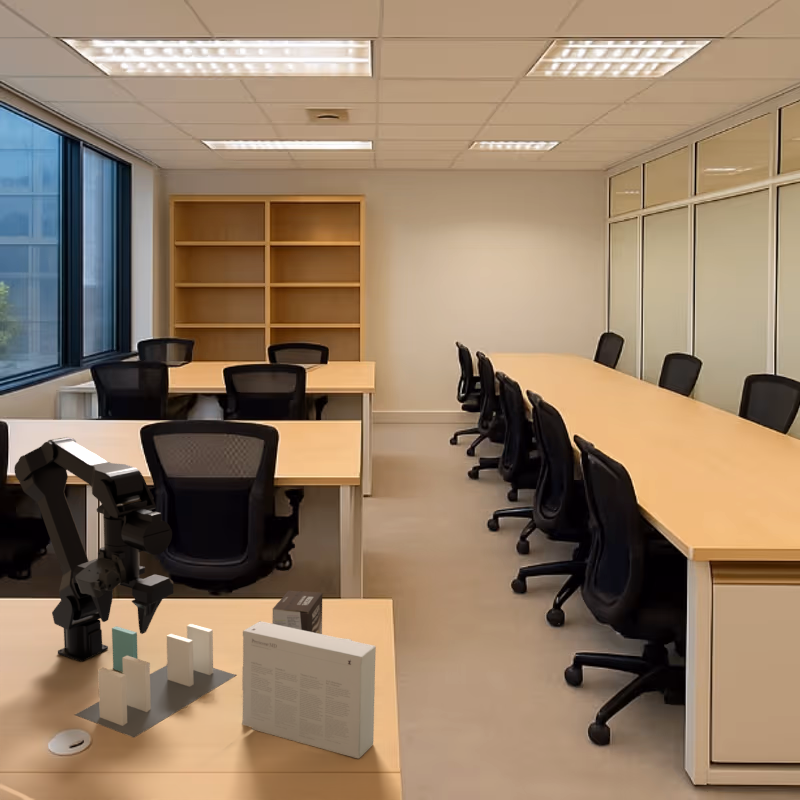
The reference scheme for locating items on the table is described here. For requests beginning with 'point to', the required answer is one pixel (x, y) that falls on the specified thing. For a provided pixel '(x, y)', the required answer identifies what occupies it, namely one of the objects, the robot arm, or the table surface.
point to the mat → (160, 700)
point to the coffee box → (299, 611)
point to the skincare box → (309, 688)
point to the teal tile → (123, 646)
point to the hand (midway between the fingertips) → (123, 626)
